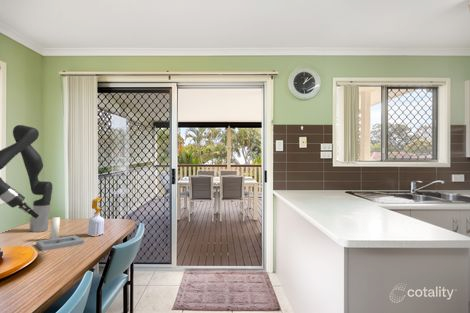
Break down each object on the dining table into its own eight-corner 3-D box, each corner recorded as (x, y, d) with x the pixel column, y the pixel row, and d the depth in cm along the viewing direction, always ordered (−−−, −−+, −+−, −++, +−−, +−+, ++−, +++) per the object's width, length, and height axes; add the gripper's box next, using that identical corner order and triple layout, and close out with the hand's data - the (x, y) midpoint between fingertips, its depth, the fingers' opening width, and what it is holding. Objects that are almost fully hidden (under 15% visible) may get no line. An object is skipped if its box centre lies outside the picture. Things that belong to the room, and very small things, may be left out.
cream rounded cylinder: (48, 240, 155) (49, 218, 155) (52, 238, 159) (54, 217, 160) (55, 240, 155) (57, 218, 156) (60, 238, 160) (61, 217, 160)
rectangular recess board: (42, 250, 136) (42, 247, 137) (36, 244, 146) (36, 241, 146) (83, 243, 151) (84, 240, 151) (75, 238, 161) (76, 235, 161)
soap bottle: (106, 234, 174) (108, 197, 175) (95, 237, 165) (98, 199, 166) (95, 232, 176) (98, 196, 177) (84, 235, 168) (87, 198, 169)
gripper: (20, 193, 140) (44, 212, 148) (16, 190, 149) (38, 209, 157) (6, 204, 136) (32, 223, 144) (3, 200, 145) (27, 218, 153)
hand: (35, 215), depth 150 cm, fingers open, 8 cm apart
